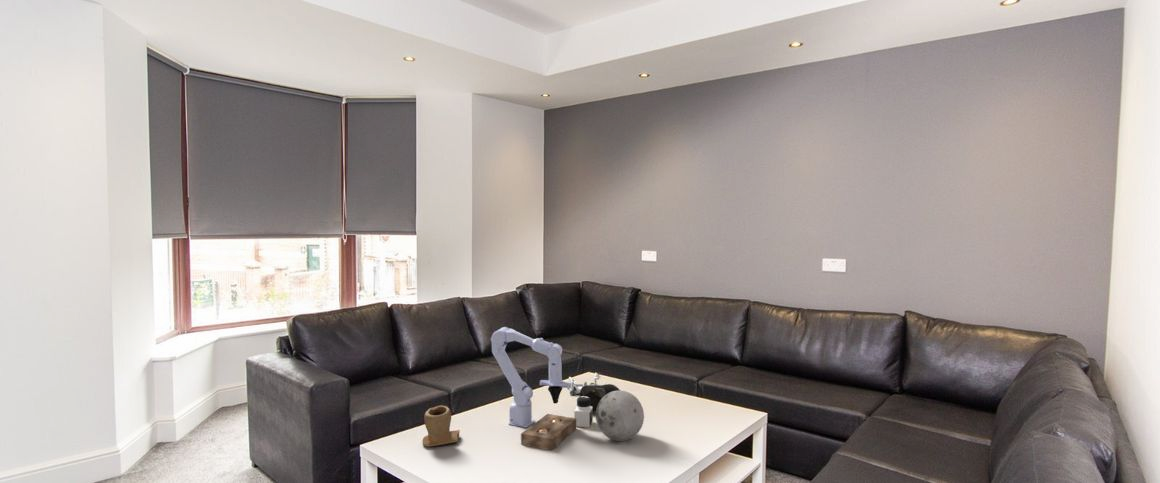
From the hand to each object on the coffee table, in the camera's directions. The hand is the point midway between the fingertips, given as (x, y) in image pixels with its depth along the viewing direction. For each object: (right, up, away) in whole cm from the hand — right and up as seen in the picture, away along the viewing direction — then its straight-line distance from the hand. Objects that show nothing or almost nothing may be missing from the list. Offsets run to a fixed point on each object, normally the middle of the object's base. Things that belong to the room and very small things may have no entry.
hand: (555, 402), depth 232 cm
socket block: (-2, -11, -11) cm, 15 cm away
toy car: (+13, -9, +49) cm, 52 cm away
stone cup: (-45, -11, -19) cm, 50 cm away
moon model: (+27, -11, -13) cm, 32 cm away
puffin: (+20, -10, +21) cm, 31 cm away
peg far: (0, -10, -5) cm, 12 cm away
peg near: (-4, -11, -16) cm, 20 cm away
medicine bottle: (+12, -11, +3) cm, 17 cm away
